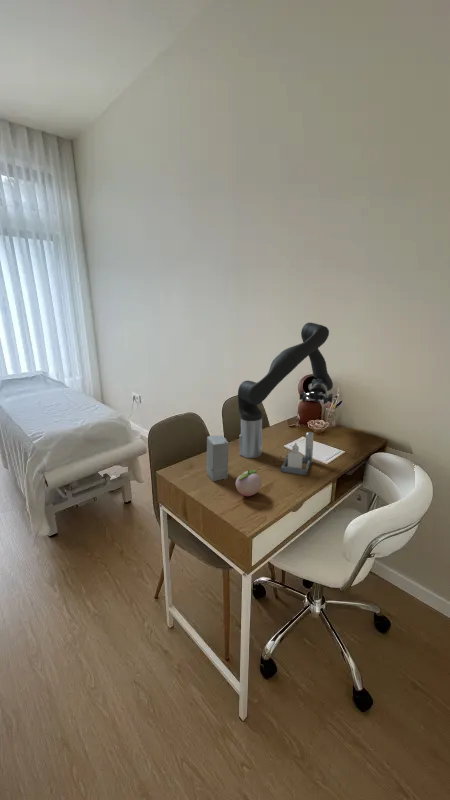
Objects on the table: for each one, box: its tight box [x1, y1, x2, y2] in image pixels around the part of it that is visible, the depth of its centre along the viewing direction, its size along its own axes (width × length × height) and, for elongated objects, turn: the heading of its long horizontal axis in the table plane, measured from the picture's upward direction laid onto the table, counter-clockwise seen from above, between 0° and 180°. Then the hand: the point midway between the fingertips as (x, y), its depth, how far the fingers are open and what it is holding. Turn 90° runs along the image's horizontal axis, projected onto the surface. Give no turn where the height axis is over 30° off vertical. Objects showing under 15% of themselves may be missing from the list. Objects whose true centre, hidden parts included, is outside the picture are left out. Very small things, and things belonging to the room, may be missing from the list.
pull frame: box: [280, 431, 315, 476], centre depth 140 cm, size 11×14×13 cm
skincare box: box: [206, 434, 230, 482], centre depth 134 cm, size 8×7×16 cm
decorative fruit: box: [235, 469, 262, 497], centre depth 120 cm, size 9×8×10 cm
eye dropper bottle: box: [287, 442, 304, 469], centre depth 137 cm, size 4×6×12 cm
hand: (314, 401), depth 149 cm, fingers open, 8 cm apart
